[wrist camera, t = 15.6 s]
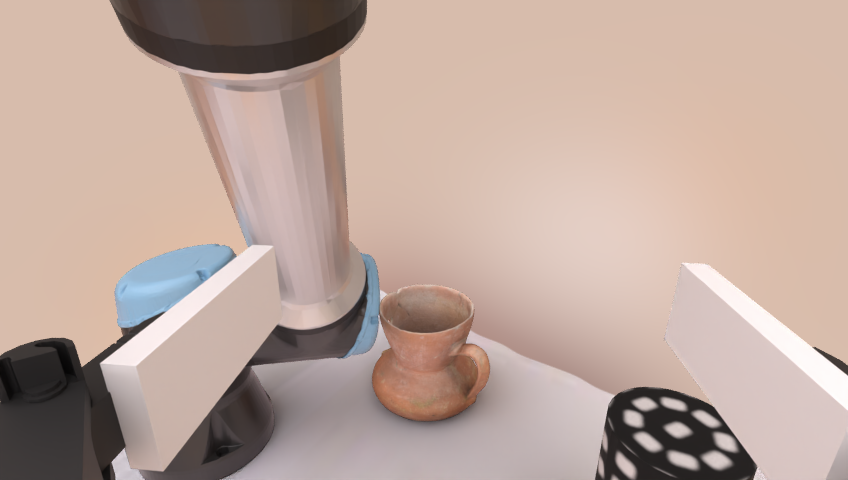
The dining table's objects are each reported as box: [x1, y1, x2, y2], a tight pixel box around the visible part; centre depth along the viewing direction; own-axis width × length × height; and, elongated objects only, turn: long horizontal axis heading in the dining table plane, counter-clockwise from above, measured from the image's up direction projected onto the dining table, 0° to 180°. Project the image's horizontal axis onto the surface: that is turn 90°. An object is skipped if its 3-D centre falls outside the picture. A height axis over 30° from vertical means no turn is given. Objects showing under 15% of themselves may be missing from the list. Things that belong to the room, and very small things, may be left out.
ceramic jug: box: [372, 284, 490, 421], centre depth 59 cm, size 18×14×14 cm
